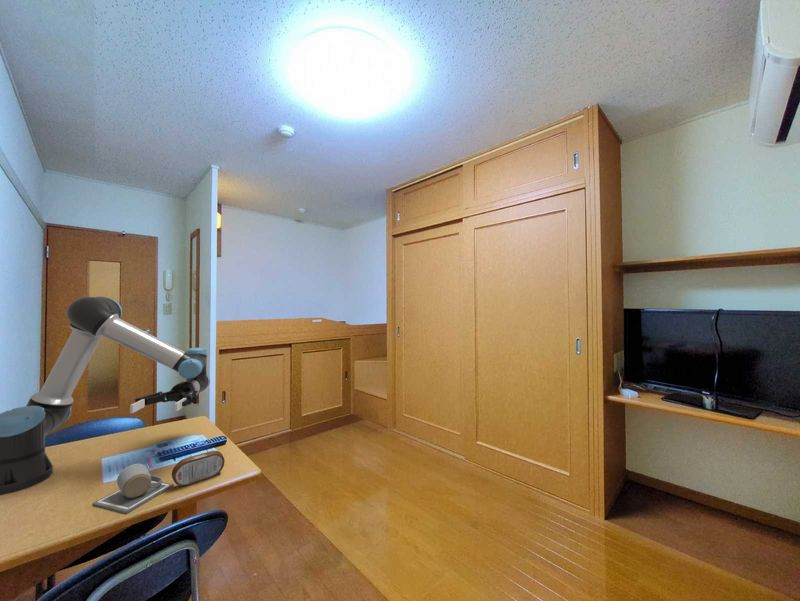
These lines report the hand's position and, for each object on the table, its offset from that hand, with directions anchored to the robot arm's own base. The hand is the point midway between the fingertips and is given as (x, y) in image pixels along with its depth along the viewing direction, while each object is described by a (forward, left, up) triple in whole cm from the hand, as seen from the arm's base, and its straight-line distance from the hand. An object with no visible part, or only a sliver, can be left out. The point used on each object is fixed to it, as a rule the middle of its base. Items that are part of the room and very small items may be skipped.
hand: (153, 408), depth 109 cm
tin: (+16, +3, -24) cm, 29 cm away
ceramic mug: (+4, -8, -23) cm, 25 cm away
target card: (+4, -9, -24) cm, 26 cm away
